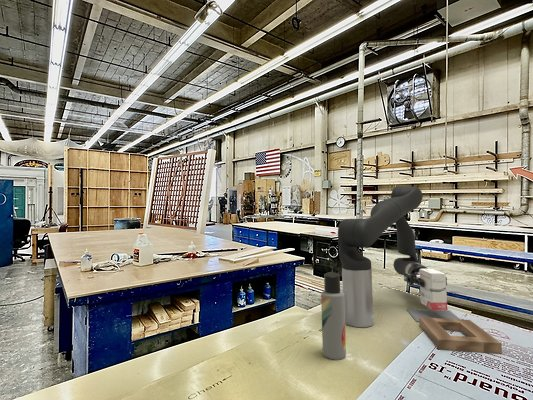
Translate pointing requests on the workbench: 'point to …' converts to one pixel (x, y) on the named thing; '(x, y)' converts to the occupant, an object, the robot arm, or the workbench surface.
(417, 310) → the grey mat
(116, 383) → the workbench surface
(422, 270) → the ink box
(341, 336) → the lotion bottle
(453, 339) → the wooden square frame
